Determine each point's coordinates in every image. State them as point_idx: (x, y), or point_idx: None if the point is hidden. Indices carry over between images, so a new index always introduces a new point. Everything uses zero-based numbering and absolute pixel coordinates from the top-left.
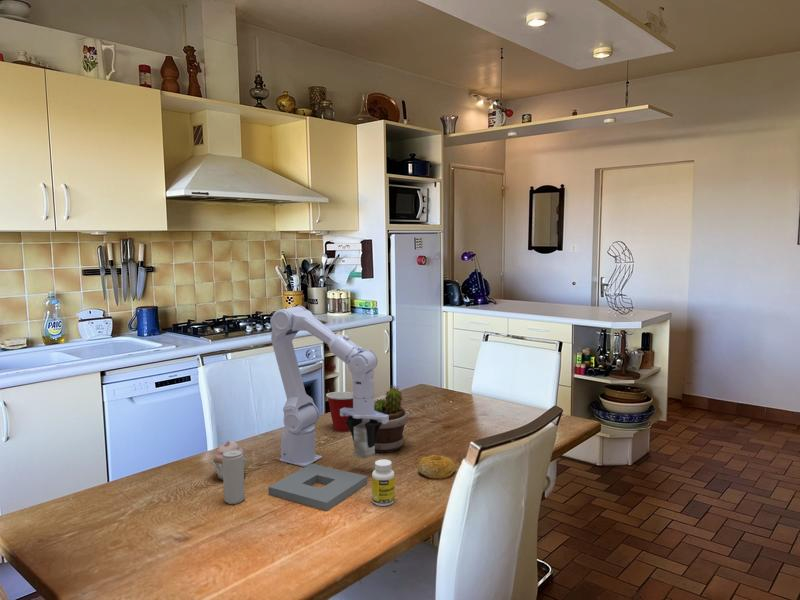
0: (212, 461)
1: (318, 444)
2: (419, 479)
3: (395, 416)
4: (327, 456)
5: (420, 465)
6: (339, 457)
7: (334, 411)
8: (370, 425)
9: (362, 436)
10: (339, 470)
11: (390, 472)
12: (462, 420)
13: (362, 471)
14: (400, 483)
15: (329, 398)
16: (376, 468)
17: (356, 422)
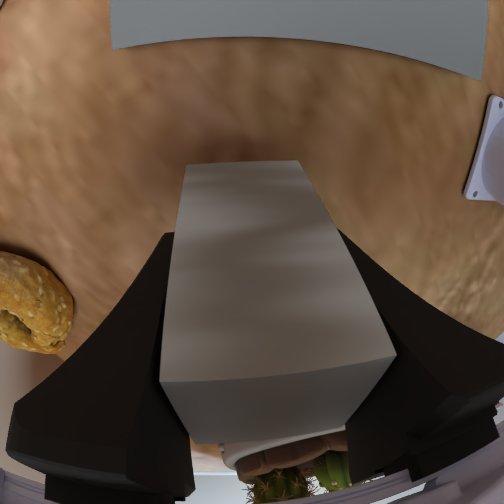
0: None
1: (482, 269)
2: (6, 224)
3: (243, 467)
4: (448, 214)
5: (11, 277)
6: (408, 227)
7: None
8: (15, 440)
9: (226, 279)
10: (322, 33)
11: None
12: (214, 447)
13: (244, 153)
14: (18, 154)
15: (496, 403)
16: None
17: (385, 419)
